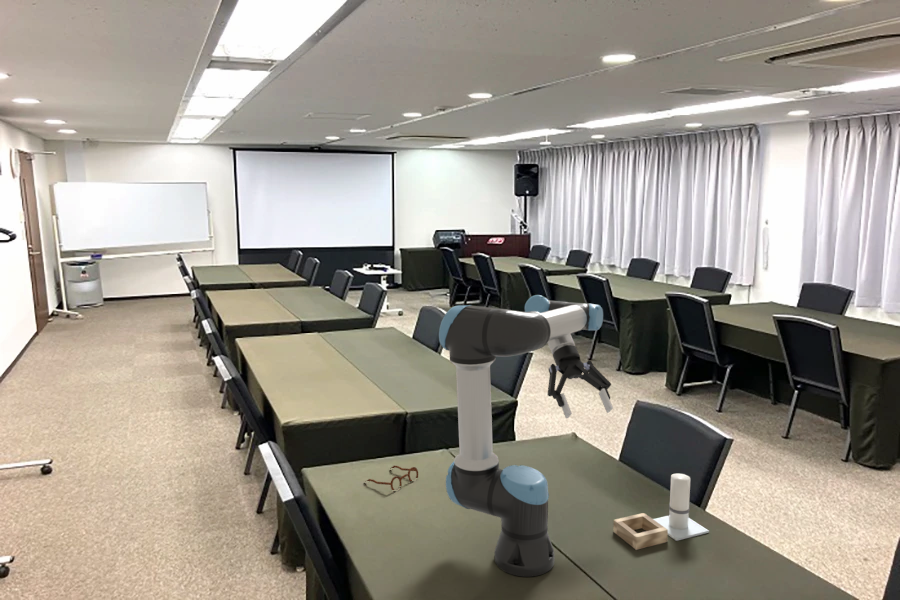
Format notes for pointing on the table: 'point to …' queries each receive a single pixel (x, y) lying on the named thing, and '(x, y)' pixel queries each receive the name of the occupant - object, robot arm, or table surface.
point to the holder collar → (644, 539)
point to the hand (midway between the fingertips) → (589, 413)
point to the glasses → (398, 477)
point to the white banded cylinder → (679, 501)
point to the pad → (679, 534)
